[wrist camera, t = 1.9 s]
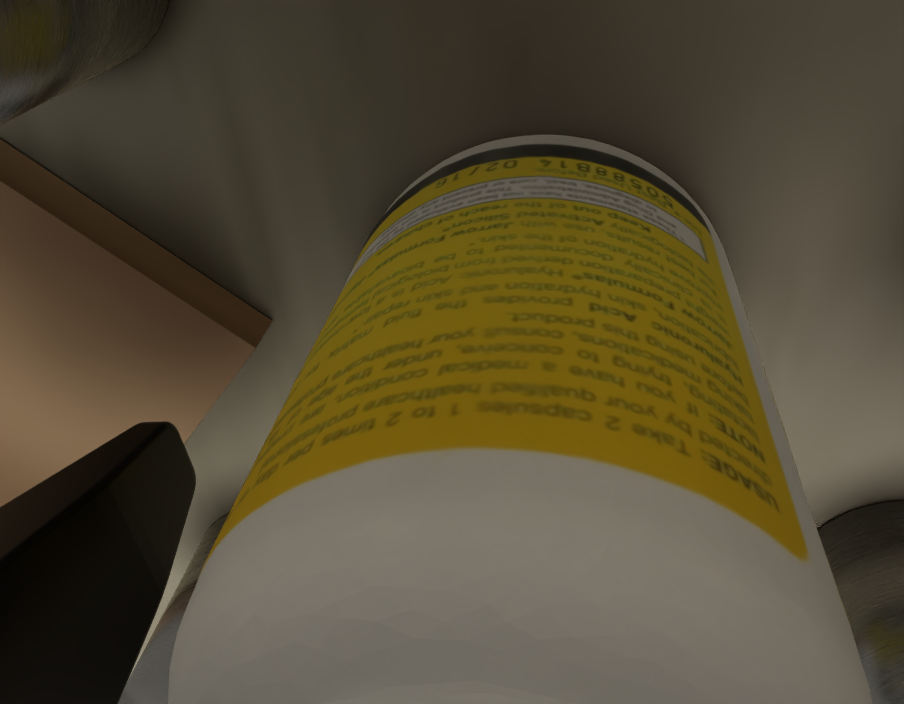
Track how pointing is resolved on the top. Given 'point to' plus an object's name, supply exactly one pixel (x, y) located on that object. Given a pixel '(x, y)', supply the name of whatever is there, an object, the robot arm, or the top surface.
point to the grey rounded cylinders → (146, 693)
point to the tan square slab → (99, 329)
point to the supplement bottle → (526, 469)
